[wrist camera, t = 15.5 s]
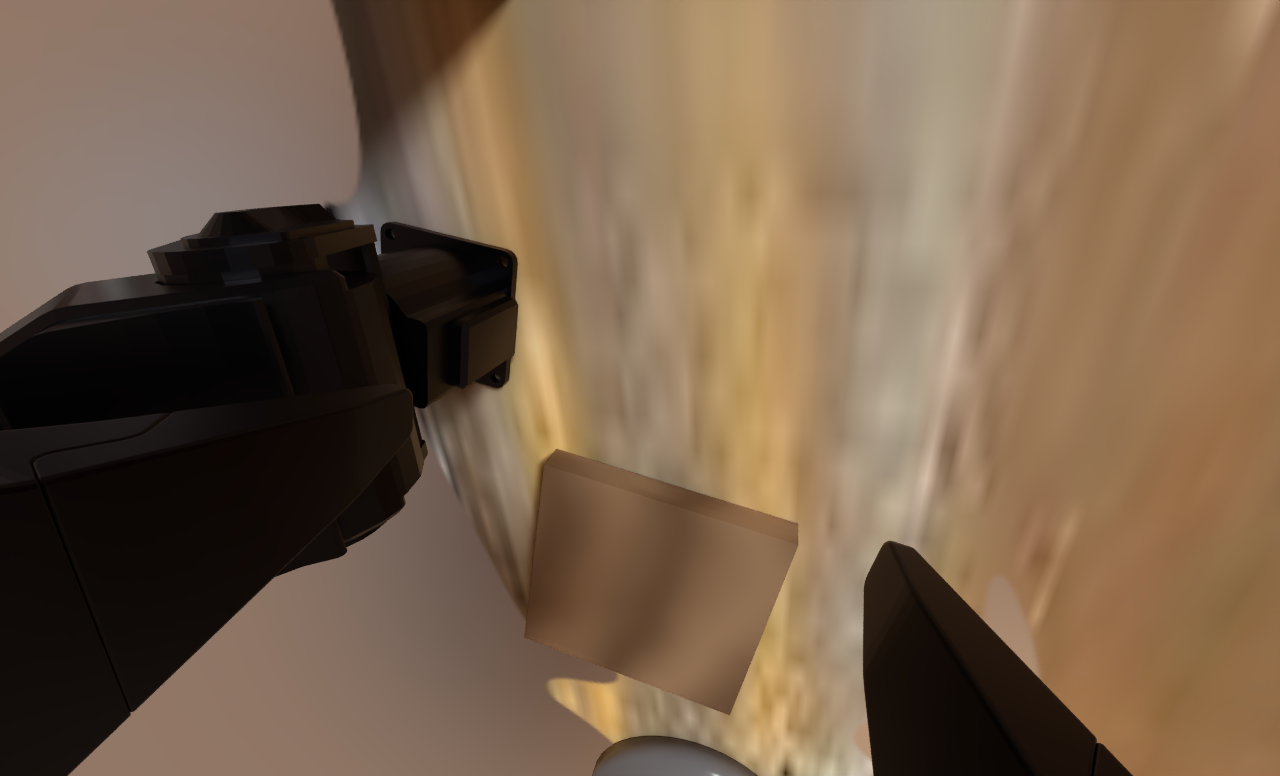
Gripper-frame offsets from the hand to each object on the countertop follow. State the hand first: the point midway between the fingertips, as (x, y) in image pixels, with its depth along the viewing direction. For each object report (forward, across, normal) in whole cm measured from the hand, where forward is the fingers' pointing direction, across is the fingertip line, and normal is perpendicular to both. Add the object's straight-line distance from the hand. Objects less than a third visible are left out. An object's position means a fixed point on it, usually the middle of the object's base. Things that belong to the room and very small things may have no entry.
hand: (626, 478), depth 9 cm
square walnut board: (+13, 0, +15) cm, 20 cm away
